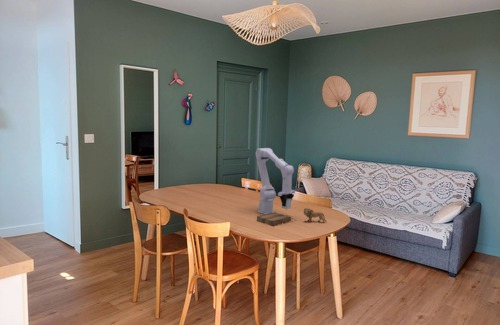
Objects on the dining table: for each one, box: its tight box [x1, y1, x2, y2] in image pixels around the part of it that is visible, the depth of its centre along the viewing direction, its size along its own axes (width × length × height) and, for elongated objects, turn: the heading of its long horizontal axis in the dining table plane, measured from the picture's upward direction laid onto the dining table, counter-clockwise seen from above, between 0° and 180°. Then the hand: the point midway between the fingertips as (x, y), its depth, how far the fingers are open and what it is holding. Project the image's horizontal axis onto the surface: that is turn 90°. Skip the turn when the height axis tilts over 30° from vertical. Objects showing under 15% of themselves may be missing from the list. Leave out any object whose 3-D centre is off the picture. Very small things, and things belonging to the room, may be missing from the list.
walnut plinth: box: [256, 211, 292, 227], centre depth 228 cm, size 14×16×3 cm
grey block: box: [281, 198, 292, 210], centre depth 232 cm, size 4×4×6 cm
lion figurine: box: [303, 207, 327, 224], centre depth 229 cm, size 15×5×9 cm, turn 91°
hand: (286, 205), depth 233 cm, fingers closed on grey block, 4 cm apart
